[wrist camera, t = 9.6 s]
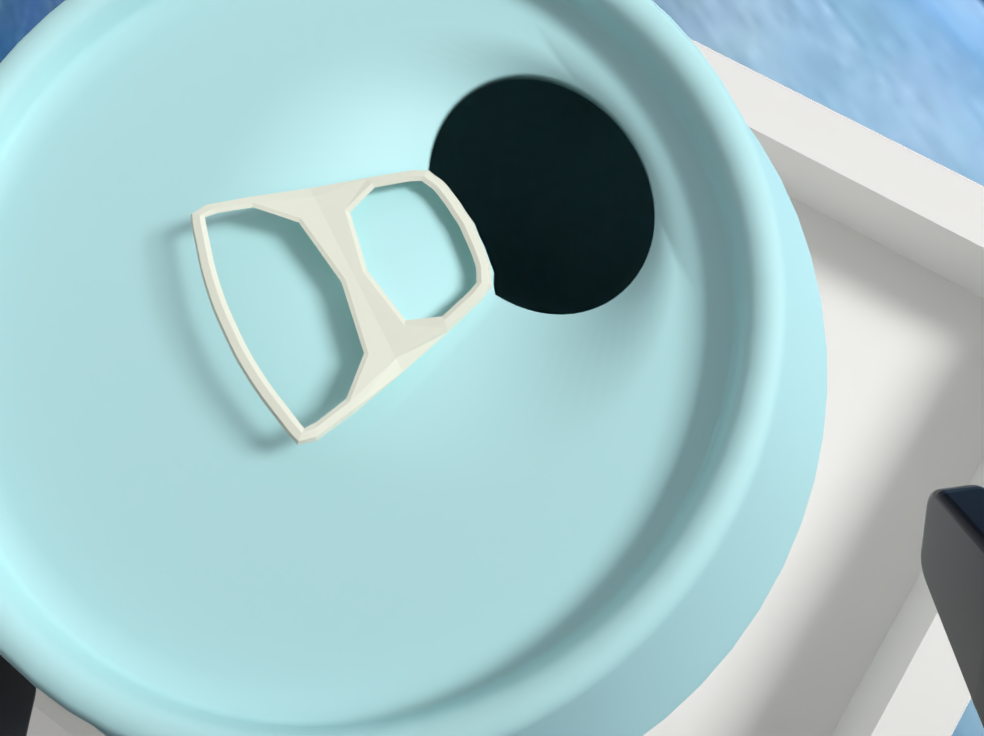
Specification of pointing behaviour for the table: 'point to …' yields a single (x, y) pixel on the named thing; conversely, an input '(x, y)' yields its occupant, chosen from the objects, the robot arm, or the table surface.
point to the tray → (850, 441)
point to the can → (390, 367)
